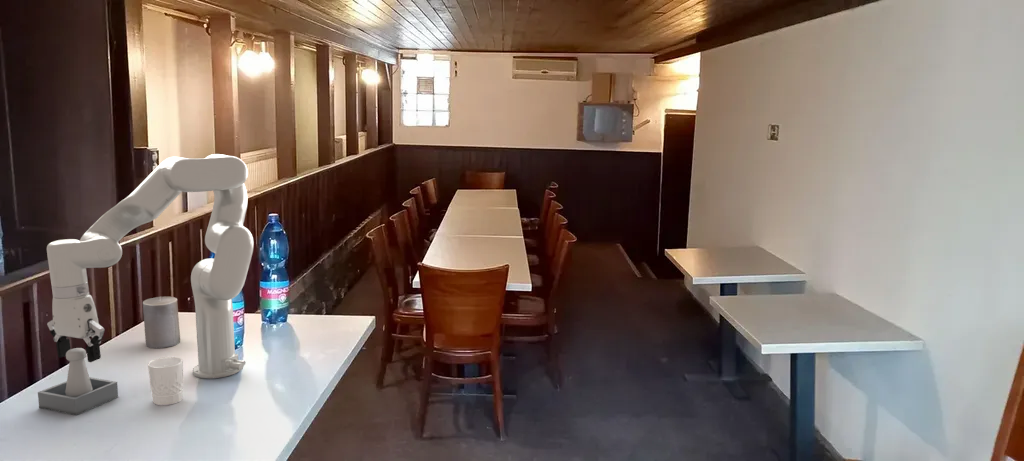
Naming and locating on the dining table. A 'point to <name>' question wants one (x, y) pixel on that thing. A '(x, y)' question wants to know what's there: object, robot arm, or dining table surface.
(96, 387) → the box
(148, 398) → the dining table surface
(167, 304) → the pillar candle
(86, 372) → the salt shaker
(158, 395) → the white cup
